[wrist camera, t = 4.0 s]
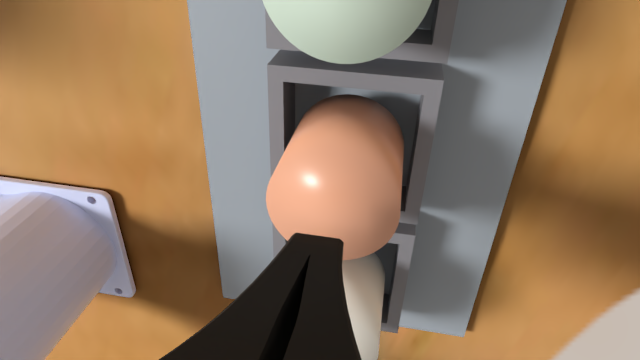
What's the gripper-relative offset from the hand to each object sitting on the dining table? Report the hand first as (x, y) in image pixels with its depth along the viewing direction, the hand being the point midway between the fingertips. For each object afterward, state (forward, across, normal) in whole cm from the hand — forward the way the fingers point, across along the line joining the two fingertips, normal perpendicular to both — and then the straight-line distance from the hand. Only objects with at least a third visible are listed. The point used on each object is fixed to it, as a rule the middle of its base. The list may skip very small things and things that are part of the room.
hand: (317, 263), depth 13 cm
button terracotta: (+7, 0, 0) cm, 7 cm away
